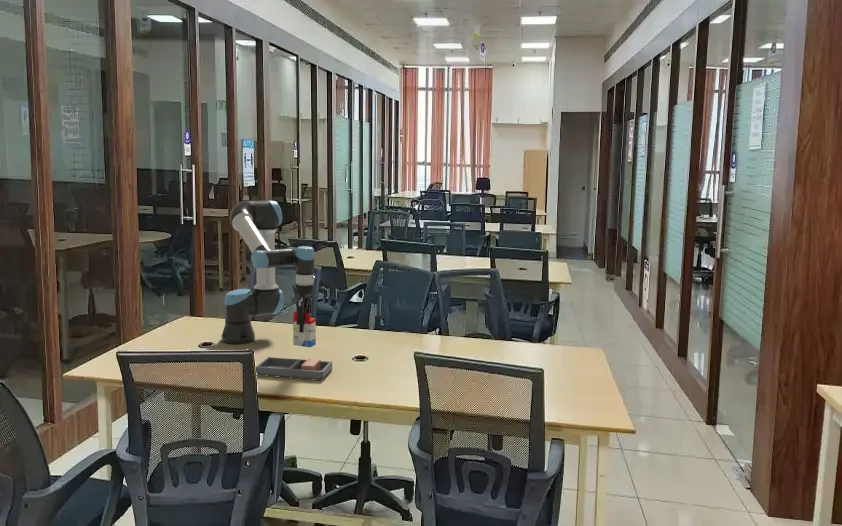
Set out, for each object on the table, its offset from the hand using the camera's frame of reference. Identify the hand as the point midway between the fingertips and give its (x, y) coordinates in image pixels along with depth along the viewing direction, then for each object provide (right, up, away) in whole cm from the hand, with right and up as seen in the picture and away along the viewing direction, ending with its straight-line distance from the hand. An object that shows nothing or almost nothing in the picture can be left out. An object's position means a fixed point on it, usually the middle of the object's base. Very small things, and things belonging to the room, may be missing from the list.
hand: (304, 337), depth 289 cm
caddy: (-1, -13, -14) cm, 19 cm away
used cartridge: (+5, -13, -15) cm, 21 cm away
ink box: (0, -4, +1) cm, 4 cm away
